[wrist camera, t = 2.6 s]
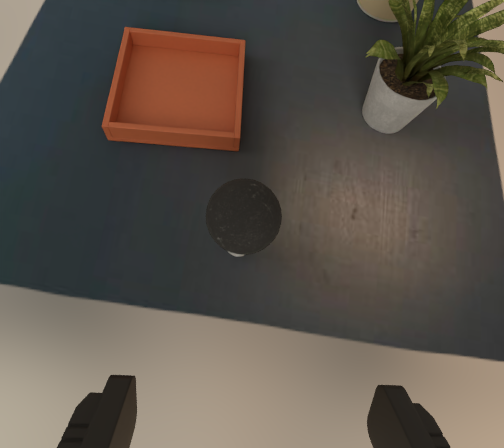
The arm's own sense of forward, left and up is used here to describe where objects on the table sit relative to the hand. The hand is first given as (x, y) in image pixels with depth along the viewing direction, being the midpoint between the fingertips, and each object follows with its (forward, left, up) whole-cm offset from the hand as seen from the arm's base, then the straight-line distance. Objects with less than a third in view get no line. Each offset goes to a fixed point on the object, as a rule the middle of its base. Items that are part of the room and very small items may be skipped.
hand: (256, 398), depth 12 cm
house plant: (+15, +27, -19) cm, 36 cm away
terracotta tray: (-7, +28, -18) cm, 35 cm away
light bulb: (0, +11, -19) cm, 22 cm away
